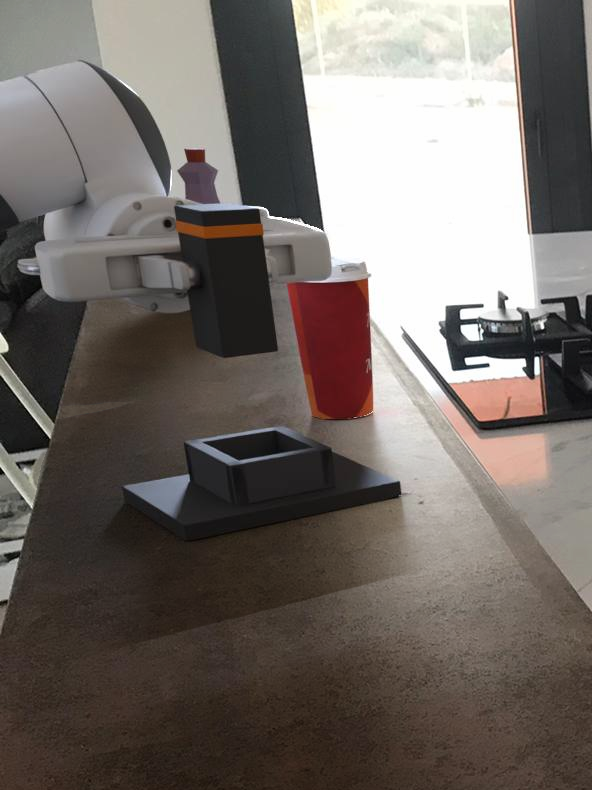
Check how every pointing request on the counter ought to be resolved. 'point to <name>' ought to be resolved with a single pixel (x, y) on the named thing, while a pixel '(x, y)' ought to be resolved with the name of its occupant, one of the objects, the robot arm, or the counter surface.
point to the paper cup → (335, 340)
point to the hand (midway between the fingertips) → (231, 273)
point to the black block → (228, 279)
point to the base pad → (256, 484)
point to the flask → (199, 177)
